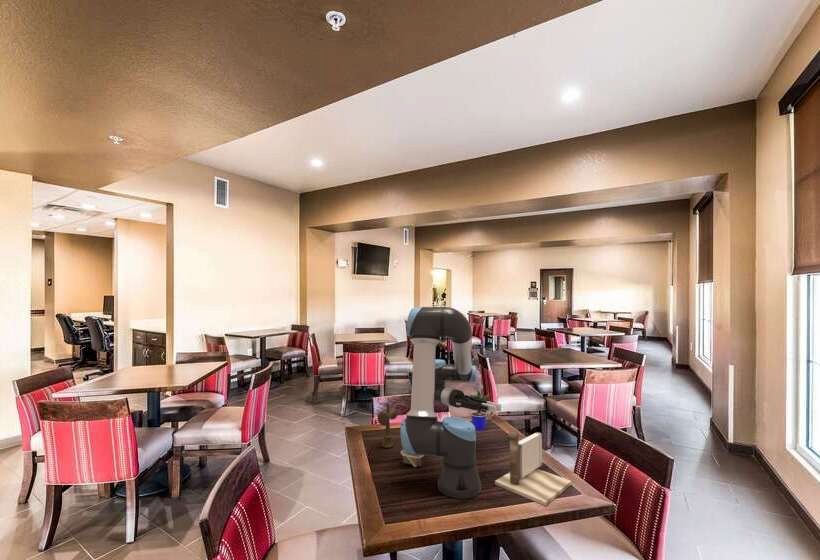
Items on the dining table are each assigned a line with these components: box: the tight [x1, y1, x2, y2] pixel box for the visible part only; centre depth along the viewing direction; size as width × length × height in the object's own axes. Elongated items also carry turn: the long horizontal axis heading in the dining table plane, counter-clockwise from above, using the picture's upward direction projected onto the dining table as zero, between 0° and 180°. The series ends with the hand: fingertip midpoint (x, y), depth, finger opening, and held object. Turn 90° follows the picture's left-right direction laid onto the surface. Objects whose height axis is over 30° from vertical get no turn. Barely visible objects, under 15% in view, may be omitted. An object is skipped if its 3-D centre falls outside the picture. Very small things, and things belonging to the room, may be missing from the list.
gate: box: [518, 431, 543, 479], centre depth 138 cm, size 17×2×12 cm, turn 134°
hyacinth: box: [469, 369, 490, 431], centre depth 190 cm, size 9×10×30 cm
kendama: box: [376, 401, 398, 449], centre depth 166 cm, size 6×10×20 cm, turn 156°
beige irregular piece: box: [400, 449, 425, 468], centre depth 147 cm, size 12×18×7 cm, turn 65°
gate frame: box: [494, 430, 573, 507], centre depth 132 cm, size 20×19×19 cm
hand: (498, 408), depth 149 cm, fingers open, 3 cm apart
